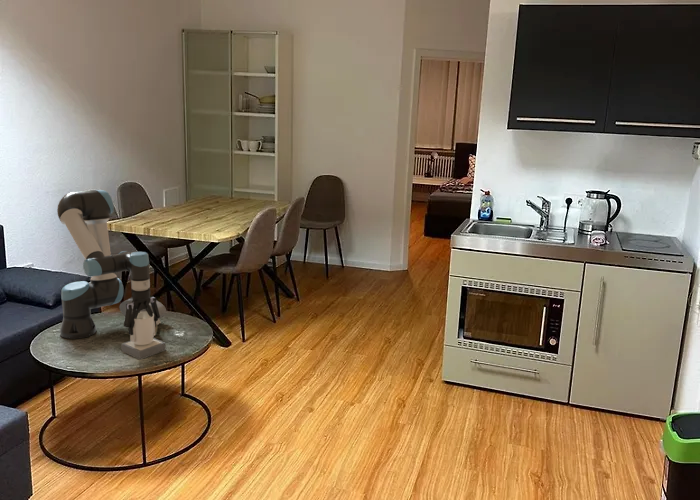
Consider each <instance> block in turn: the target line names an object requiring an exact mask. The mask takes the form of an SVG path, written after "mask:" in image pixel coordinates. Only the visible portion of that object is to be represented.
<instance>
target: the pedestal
mask: <svg viewBox="0 0 700 500" xmlns="http://www.w3.org/2000/svg"><path fill="white" fill-rule="evenodd" d="M120 346H121V353H124V354H126V355H129V356H132V357H133V358H136V359H138V360H143V359H145V358H146V359H147V358H148V357H151V356H154V355H156V354H160V353H161V352H165V351H166V348H167V347H166V342H164V341H162V340H160V339H157V338H155V337H153V342H152V343H150V344H146V345H137V344H134V343H133V342H132V341H130V340H129V341H125V342H123V343H121V344H120Z"/></svg>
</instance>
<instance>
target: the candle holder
mask: <svg viewBox="0 0 700 500" xmlns="http://www.w3.org/2000/svg"><path fill="white" fill-rule="evenodd" d="M134 321H135V324H134V327H135V334H136V342H133V343H134V344H137V345H146V344H150V343H152V342H153V338H155V337H154V336H155V335H154V313H153V316H152V317H150V316H149V315H148V313H147V311H142V312H140V313H138V316H137V319H134Z"/></svg>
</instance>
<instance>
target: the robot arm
mask: <svg viewBox="0 0 700 500" xmlns="http://www.w3.org/2000/svg"><path fill="white" fill-rule="evenodd" d="M114 208H115V206H114V202H113V199H112V197H111V195H110V193H109V192H108V191H106V190H104V189H95V190H94V189H93V190H83V191H70V192H68V193H66V194H65V195H64V196H62V198H60V200H59V201H58V204H57V210H56V211H57V217H58V219H59V221H60V222H61V224H62V225H64V226H65V227H66V228H67V230H68V232H69V234H70V236H71V237H72V238H73V241H74V242H75V244H76V246H77V248H78V249H79V251H80V253H81V254H82V255H81V256H83V258H84V261H83V262H82V265H83V266H82V267H83V271H84V274H85V275H86V276H87V277H91V278H90V283H89V282H88V281H85V280H82V281H72V282H70V283H67V284H66V285H64V286H63V287H62V289H61V291H60V292H61V296H60V298H61V306H62V307H61V308H62V317H63V318H62V323H61V326H60V328H59V333H60V337H62V338H64V339H68V340H69V339H71V340H73V339H74V340H77V339H85V338H87V337H90V336H93V335H94V334H96V332H97V326H96V324H95V321H94V319H93V317H92V312H91V310H92V309H98V308H102V307H106V306H112V305H115V304H119V303H120V302H121V301H122V299H123V298H124V285H123V282H122V280H121V279H120V278H118V276H117V274H115V273H120V272H125V271H126V272H130V287H131V298H132V299H133V301H132V303H130V304H126V315H124V321H123V322H124V323H123V327H125V328H127V329H128V334H129V336H130V337H129V338H130V339H129V341H132V342H136V334H135V327H134V324H135V321H134V319H137V316H138V313H140V310H143V309H145V310H146V311H147V313H148V315H149V316H150V317H152V316H153V313H154V336H156V334H155V327H156V321H157V320H158V318H160V314H159V311H158V307H157V303H156V300H157V297H154V296H151V288H150V287H151V282H150V281H151V280H150V260H149V253H148V252H146V251H133V252H131V251H128V250H122V251H119V252H118V253H117V254H112V252H111V245H110V237H109V229H108V221H109V220H110V219H111V217H110V215H112V214H113V213H114ZM150 302H151V306H152V309H153V312H152V310H151V307H150V305H149V303H150ZM133 306H134V307H133ZM132 309H133V312H132ZM136 309H137V310H136ZM160 319H161V318H160Z"/></svg>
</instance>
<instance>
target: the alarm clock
mask: <svg viewBox="0 0 700 500" xmlns="http://www.w3.org/2000/svg"><path fill="white" fill-rule="evenodd" d="M132 301H133V299H132V297H130V298H128V299H126V300H124V301H122V302H121V303H120V304H119V311H120V313H121V314H122V315H124V316H125V315H126V304H130V303H132ZM156 303H157V307H158V311H159V314H160V318H158V320H157V321H156V324H157V326H158V325H159V323H160V324H161V318H163V317H165V316H166V315H167V309H166V307H165V305H163V304H162V302H160V301H158V300H157V299H156ZM149 305H150V307H151V310H152V312H153V309H152V306H151V302H150V303H149ZM133 307H134V306H133ZM136 310H137V309H136ZM142 311H146V310H145V309H143V310H140V312H142ZM132 312H133V309H132Z"/></svg>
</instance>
